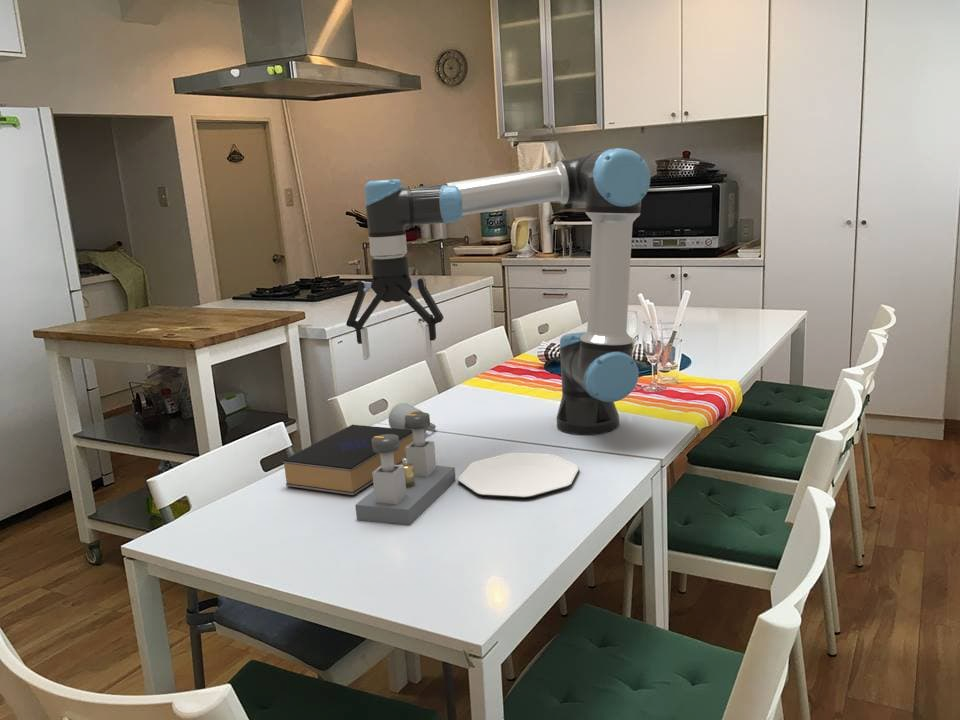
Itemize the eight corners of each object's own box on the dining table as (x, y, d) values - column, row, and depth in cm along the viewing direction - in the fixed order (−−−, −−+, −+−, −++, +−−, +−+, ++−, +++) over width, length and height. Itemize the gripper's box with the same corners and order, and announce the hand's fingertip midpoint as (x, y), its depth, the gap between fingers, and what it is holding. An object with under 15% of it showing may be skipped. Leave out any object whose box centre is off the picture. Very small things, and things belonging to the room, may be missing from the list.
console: (455, 480, 168) (452, 439, 166) (409, 524, 148) (405, 478, 146) (407, 477, 172) (403, 436, 170) (356, 519, 152) (351, 474, 150)
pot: (417, 482, 160) (415, 456, 159) (410, 488, 157) (408, 461, 156) (403, 481, 161) (401, 455, 160) (397, 487, 158) (394, 460, 157)
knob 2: (436, 450, 166) (433, 411, 164) (426, 458, 161) (423, 419, 159) (414, 448, 168) (411, 411, 166) (404, 457, 163) (400, 418, 161)
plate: (496, 512, 151) (495, 504, 151) (443, 475, 172) (442, 469, 172) (599, 483, 162) (599, 476, 161) (537, 452, 182) (537, 445, 182)
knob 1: (407, 474, 153) (402, 433, 151) (395, 484, 149) (390, 442, 147) (383, 473, 155) (379, 432, 153) (371, 482, 150) (366, 440, 149)
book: (286, 489, 171) (282, 460, 169) (355, 451, 192) (352, 424, 191) (353, 499, 163) (350, 468, 161) (417, 457, 184) (415, 430, 183)
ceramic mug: (406, 443, 194) (404, 412, 192) (389, 435, 201) (386, 405, 199) (443, 433, 200) (441, 403, 199) (424, 426, 207) (422, 397, 205)
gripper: (451, 251, 169) (458, 350, 173) (335, 258, 171) (345, 355, 176) (446, 255, 161) (454, 358, 166) (325, 261, 164) (336, 363, 169)
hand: (398, 357), depth 171 cm, fingers open, 13 cm apart
